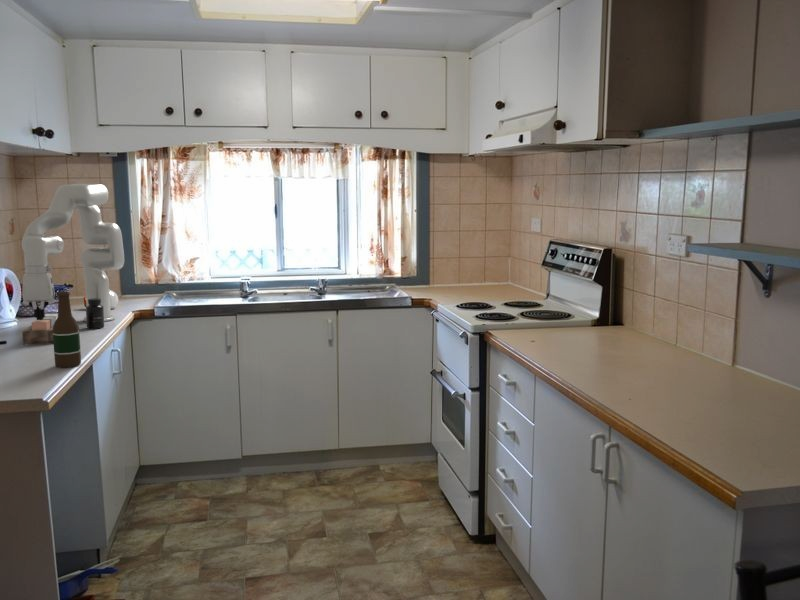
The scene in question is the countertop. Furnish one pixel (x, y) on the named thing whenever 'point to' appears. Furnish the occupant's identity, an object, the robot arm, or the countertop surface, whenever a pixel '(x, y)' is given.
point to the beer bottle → (66, 335)
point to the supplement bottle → (94, 314)
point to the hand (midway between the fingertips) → (40, 319)
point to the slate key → (50, 320)
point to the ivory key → (52, 316)
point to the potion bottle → (112, 299)
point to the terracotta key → (40, 325)
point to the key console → (37, 336)
